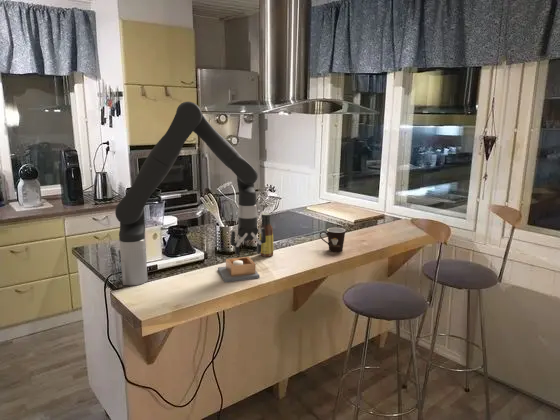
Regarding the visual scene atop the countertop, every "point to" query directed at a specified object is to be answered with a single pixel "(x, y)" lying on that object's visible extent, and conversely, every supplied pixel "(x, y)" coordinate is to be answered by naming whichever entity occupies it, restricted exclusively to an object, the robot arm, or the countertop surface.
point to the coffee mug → (335, 239)
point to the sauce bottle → (267, 236)
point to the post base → (228, 278)
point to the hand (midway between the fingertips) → (248, 254)
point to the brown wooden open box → (241, 267)
